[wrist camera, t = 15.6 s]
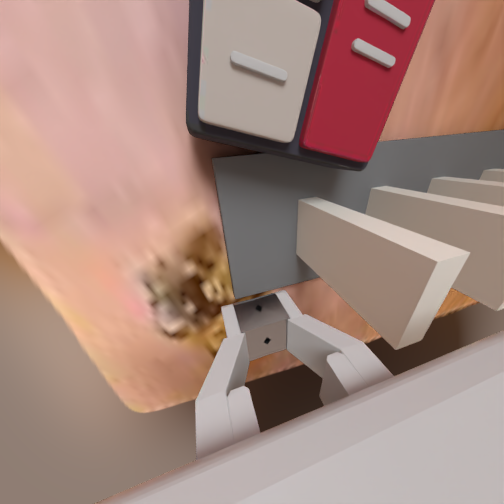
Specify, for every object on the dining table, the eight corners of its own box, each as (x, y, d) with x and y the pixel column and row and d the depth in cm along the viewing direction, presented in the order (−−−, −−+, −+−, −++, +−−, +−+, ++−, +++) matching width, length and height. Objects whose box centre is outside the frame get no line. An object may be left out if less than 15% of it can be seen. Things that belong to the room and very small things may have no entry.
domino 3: (359, 239, 19) (496, 311, 11) (371, 188, 17) (560, 226, 8) (372, 236, 19) (515, 303, 11) (385, 185, 17) (583, 220, 8)
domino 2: (414, 227, 20) (572, 281, 12) (431, 178, 18) (647, 202, 10) (425, 225, 21) (587, 275, 12) (444, 176, 18) (663, 198, 10)
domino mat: (211, 158, 13) (213, 158, 12) (582, 121, 22) (596, 120, 21) (233, 293, 19) (235, 299, 18) (517, 221, 27) (527, 223, 27)
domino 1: (296, 253, 18) (396, 350, 9) (298, 199, 15) (437, 262, 7) (311, 250, 18) (421, 339, 9) (316, 196, 15) (470, 252, 7)
